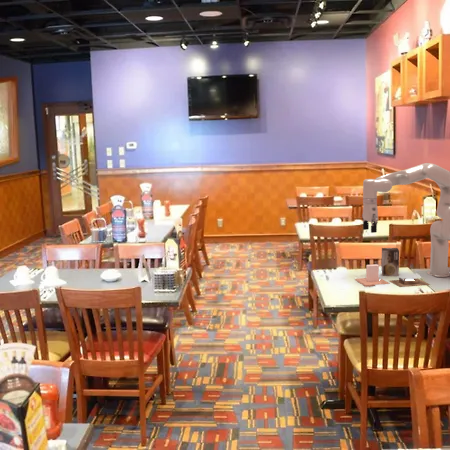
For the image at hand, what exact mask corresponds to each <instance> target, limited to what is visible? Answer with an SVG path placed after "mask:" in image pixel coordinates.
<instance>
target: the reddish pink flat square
mask: <svg viewBox="0 0 450 450" xmlns="http://www.w3.org/2000/svg"><path fill="white" fill-rule="evenodd" d="M354 280H355V281H356V282H357V283H359V284H360V285H362V286H364V287H365V288H369V287H376V286H377V285H389V284H390V283H391V282H389V281H386V280H385V279H383V278H381V280H380V281H375V282H368V281H366V277H362V278H361V277H360V278H359V277H358V278H355V279H354Z"/></svg>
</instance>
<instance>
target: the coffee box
mask: <svg viewBox="0 0 450 450" xmlns="http://www.w3.org/2000/svg"><path fill="white" fill-rule="evenodd" d="M381 271H382V275H381V276H383V277H399V276H400V249H399V248H398V247H381Z"/></svg>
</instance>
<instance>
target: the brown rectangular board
mask: <svg viewBox="0 0 450 450" xmlns="http://www.w3.org/2000/svg"><path fill="white" fill-rule="evenodd" d="M405 279H406V278H401V277H398V279H394V280H393V279H391V280H388V283H391V284H393V285H395V286H397V287H399V288H410V287H419V286H420V287H421V286H431V284H430V283H428V282H426V281H424V280H422V279H419V278H418V277H417V278H414V280H415V281H405Z"/></svg>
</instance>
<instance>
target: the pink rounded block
mask: <svg viewBox="0 0 450 450" xmlns="http://www.w3.org/2000/svg"><path fill="white" fill-rule="evenodd" d="M365 268H366V274H365V275H366V276H365V278H366V281H368V282H375V281H379V278H380V277H379V276H380V273H379V272H380V271H379V270H380V269H379V268H380V266H379V264H376V263H375V264H366V267H365Z"/></svg>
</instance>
